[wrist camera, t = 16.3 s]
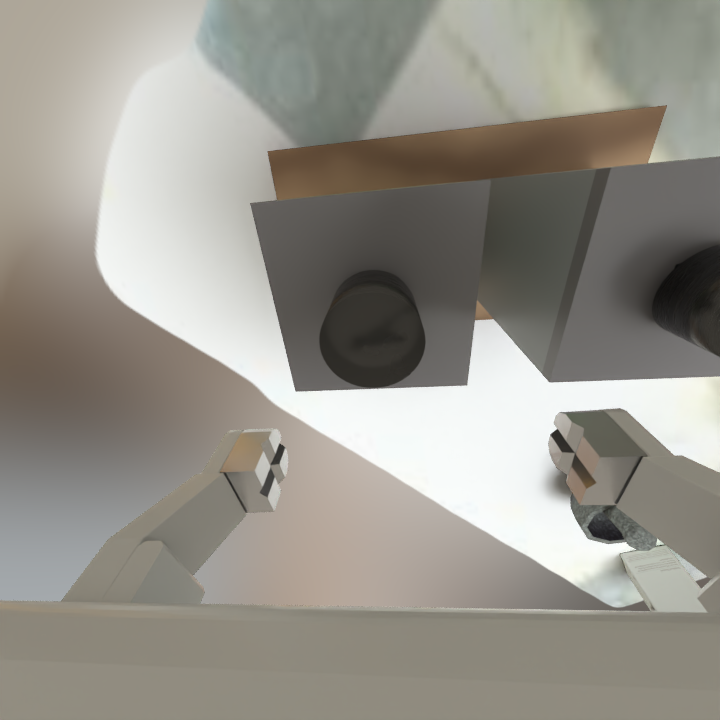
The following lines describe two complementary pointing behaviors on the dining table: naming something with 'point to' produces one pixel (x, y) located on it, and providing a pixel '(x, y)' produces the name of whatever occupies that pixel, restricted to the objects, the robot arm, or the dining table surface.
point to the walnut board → (468, 155)
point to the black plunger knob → (372, 330)
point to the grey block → (598, 266)
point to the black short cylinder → (692, 300)
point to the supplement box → (662, 580)
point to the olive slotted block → (378, 252)
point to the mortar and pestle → (611, 526)
